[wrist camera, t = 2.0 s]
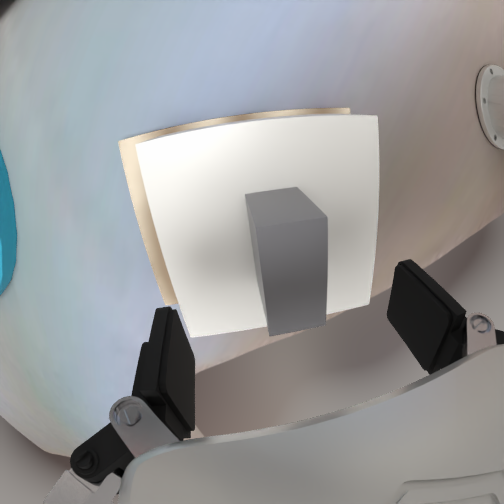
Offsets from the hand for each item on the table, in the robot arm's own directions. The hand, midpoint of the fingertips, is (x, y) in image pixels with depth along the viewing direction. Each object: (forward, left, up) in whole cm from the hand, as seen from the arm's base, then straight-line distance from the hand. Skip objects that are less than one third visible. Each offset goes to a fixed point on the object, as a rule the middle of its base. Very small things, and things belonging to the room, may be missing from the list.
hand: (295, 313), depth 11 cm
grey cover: (-1, 0, -15) cm, 15 cm away
